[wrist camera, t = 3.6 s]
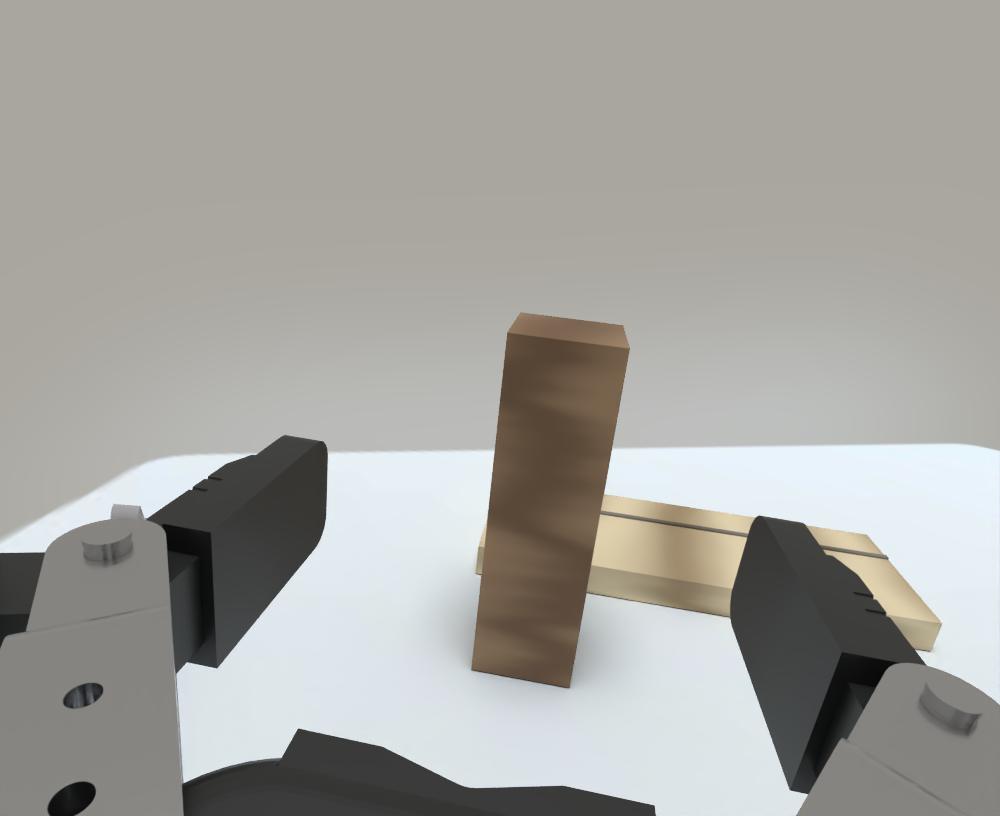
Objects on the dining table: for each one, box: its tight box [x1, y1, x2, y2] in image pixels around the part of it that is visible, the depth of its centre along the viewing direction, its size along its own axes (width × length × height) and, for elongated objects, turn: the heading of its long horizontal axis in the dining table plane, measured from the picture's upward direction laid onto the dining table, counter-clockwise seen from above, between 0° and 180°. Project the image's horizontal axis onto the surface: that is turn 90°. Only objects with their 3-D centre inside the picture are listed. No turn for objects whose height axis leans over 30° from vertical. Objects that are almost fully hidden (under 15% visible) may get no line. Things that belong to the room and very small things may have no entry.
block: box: [472, 313, 630, 688], centre depth 28 cm, size 4×13×14 cm, turn 172°
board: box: [476, 494, 942, 651], centre depth 33 cm, size 22×8×2 cm, turn 82°
